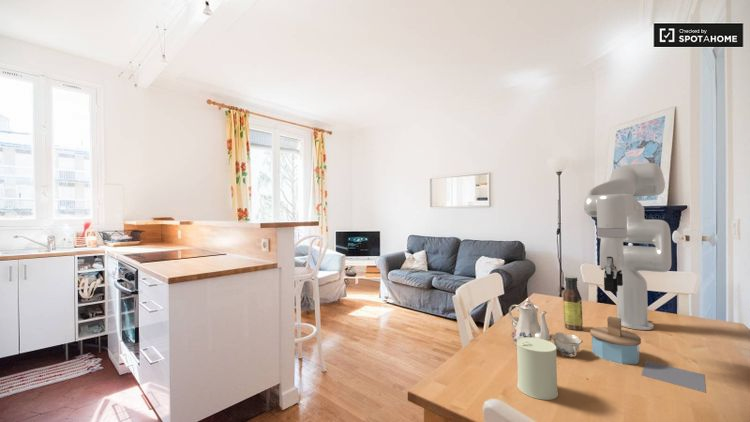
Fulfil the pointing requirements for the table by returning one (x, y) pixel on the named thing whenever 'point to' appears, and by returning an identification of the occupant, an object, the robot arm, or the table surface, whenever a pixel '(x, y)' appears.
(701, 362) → the table surface
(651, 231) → the robot arm
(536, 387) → the can
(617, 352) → the bowl
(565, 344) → the chinaware
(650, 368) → the mat
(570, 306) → the sauce bottle
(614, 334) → the lid
